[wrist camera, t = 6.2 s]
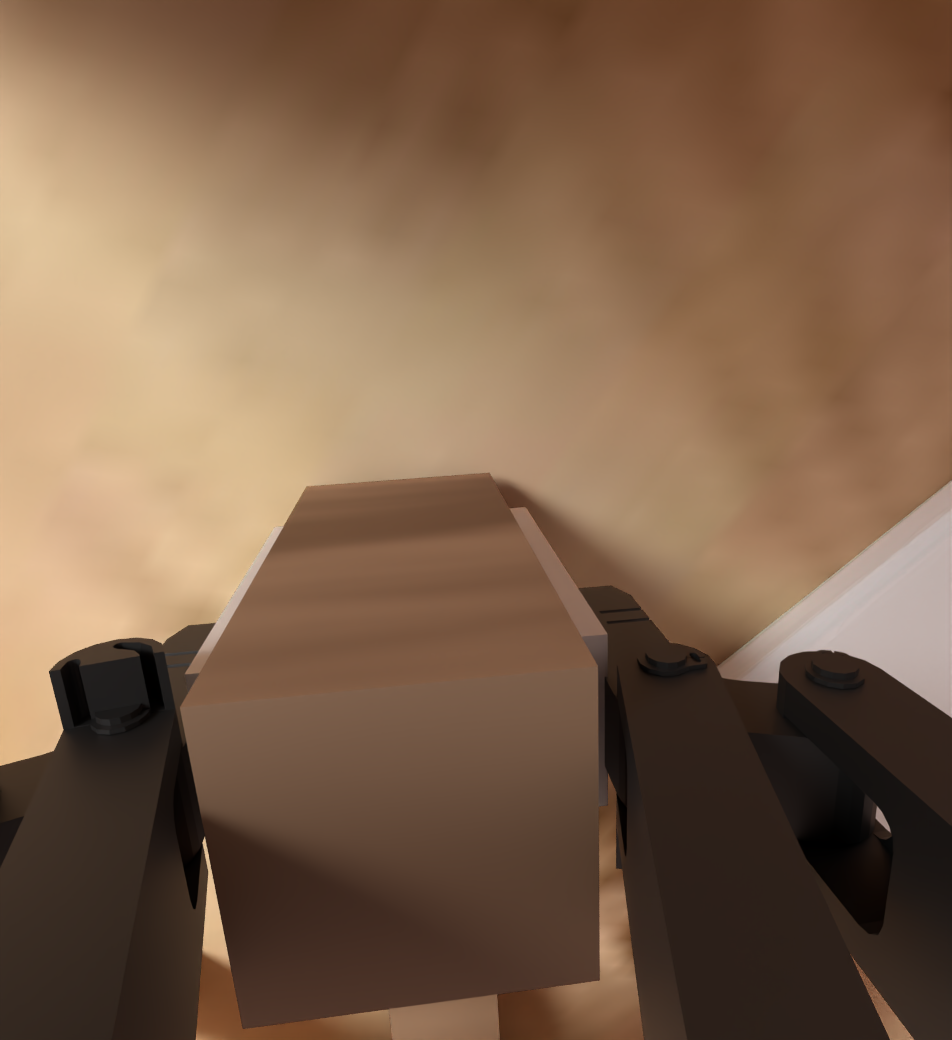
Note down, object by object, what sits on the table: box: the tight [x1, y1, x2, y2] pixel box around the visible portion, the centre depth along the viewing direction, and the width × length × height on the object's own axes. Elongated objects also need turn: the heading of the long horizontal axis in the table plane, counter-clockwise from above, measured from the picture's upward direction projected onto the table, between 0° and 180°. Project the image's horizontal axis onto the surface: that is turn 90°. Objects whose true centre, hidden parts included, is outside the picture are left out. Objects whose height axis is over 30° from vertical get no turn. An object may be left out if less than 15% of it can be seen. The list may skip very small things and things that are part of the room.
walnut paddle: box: [180, 473, 600, 1040], centre depth 14 cm, size 20×4×9 cm, turn 3°
